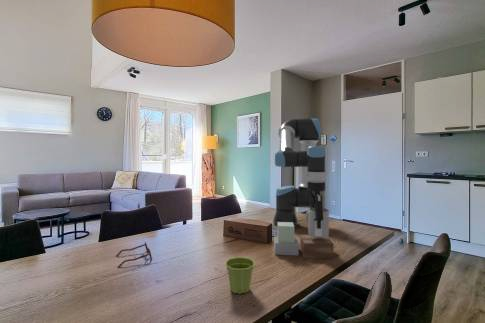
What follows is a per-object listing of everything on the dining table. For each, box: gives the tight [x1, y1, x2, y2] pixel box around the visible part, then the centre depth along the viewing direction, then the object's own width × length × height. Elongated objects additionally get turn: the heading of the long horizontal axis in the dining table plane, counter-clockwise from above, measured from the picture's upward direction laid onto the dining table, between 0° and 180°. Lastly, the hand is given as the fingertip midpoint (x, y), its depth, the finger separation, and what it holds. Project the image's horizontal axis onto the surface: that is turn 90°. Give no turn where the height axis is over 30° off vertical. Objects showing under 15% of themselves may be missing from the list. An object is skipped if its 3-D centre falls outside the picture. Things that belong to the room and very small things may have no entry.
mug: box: [305, 208, 330, 238], centre depth 115 cm, size 12×8×11 cm
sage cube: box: [277, 222, 295, 243], centre depth 117 cm, size 7×7×7 cm
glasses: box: [115, 241, 153, 268], centre depth 109 cm, size 13×13×5 cm
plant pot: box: [225, 257, 256, 295], centre depth 83 cm, size 9×9×9 cm
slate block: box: [273, 235, 300, 256], centre depth 117 cm, size 10×10×5 cm
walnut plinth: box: [299, 234, 334, 259], centre depth 115 cm, size 12×12×6 cm
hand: (315, 231), depth 114 cm, fingers closed on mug, 10 cm apart
